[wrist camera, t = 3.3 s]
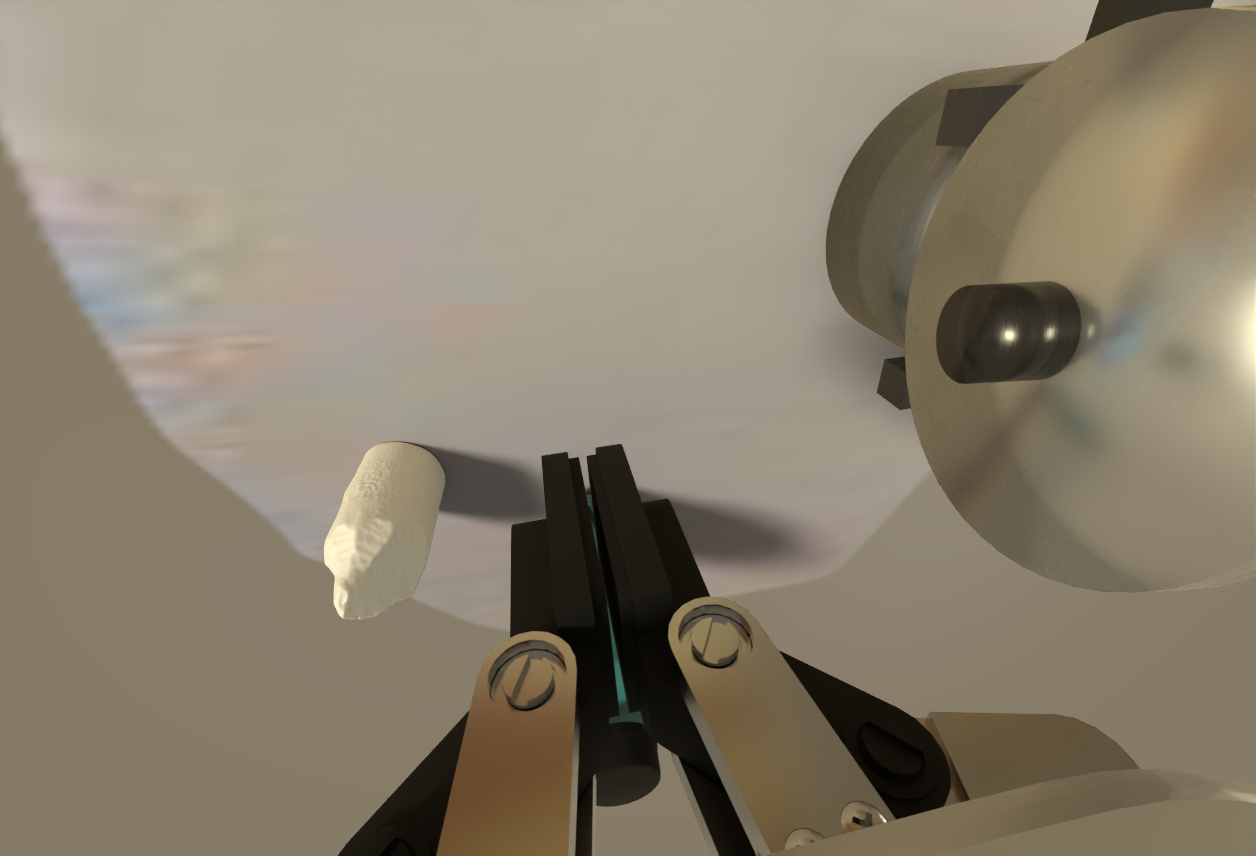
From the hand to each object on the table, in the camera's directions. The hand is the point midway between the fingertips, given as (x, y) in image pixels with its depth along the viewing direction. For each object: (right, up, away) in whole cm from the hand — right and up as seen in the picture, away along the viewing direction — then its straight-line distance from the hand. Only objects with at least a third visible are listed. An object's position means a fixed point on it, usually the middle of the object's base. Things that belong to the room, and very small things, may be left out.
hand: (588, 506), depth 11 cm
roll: (-15, -2, +25) cm, 29 cm away
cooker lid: (+16, +5, +6) cm, 17 cm away
